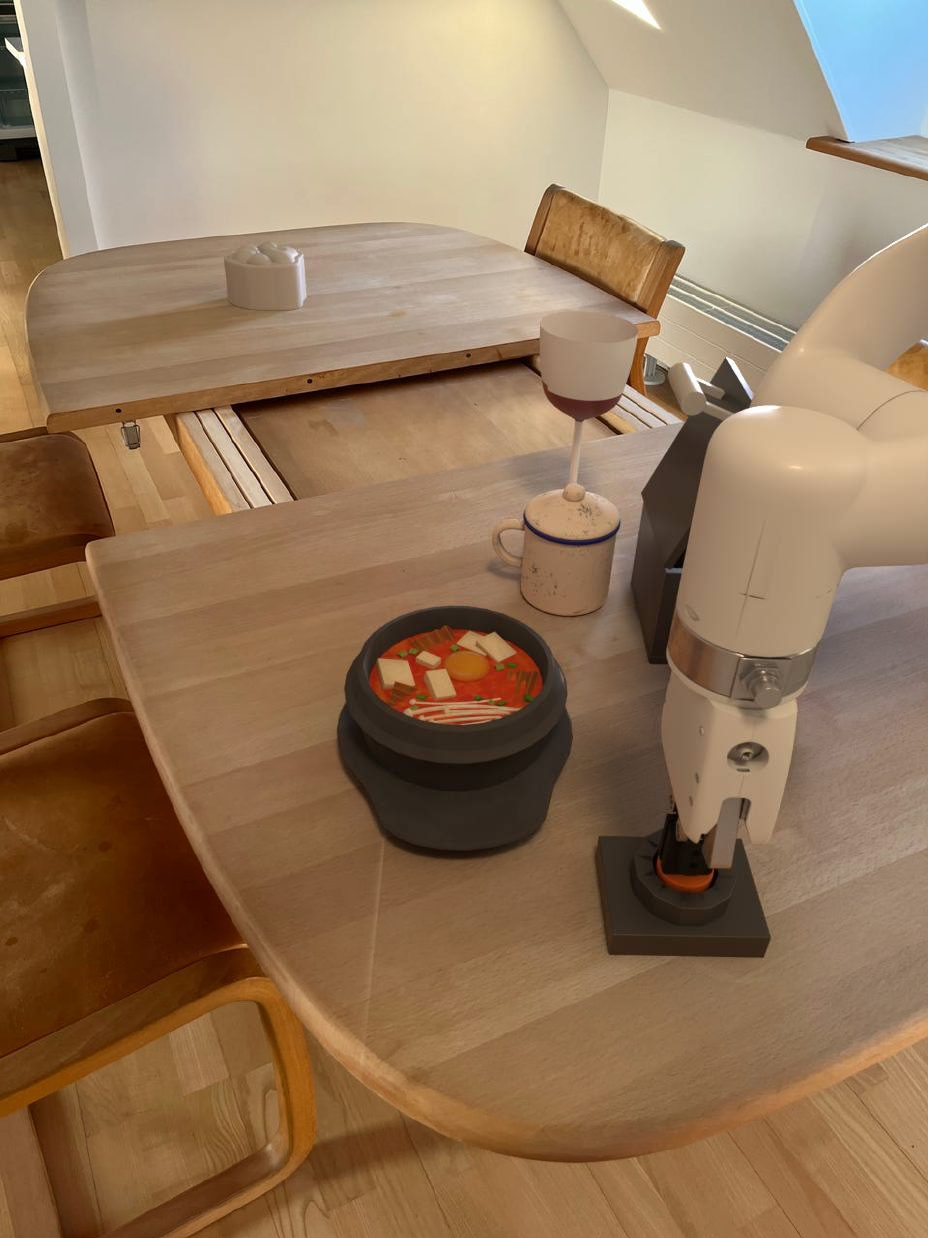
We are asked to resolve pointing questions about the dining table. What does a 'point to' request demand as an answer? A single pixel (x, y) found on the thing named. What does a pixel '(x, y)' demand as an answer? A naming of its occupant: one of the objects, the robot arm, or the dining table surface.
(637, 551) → the grey hinged-lid box
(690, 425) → the lid
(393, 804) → the casserole
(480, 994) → the dining table surface
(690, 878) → the button
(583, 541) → the teacup with lid
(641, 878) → the control block
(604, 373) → the wineglass
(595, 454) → the dining table surface
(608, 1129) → the dining table surface
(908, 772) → the dining table surface
